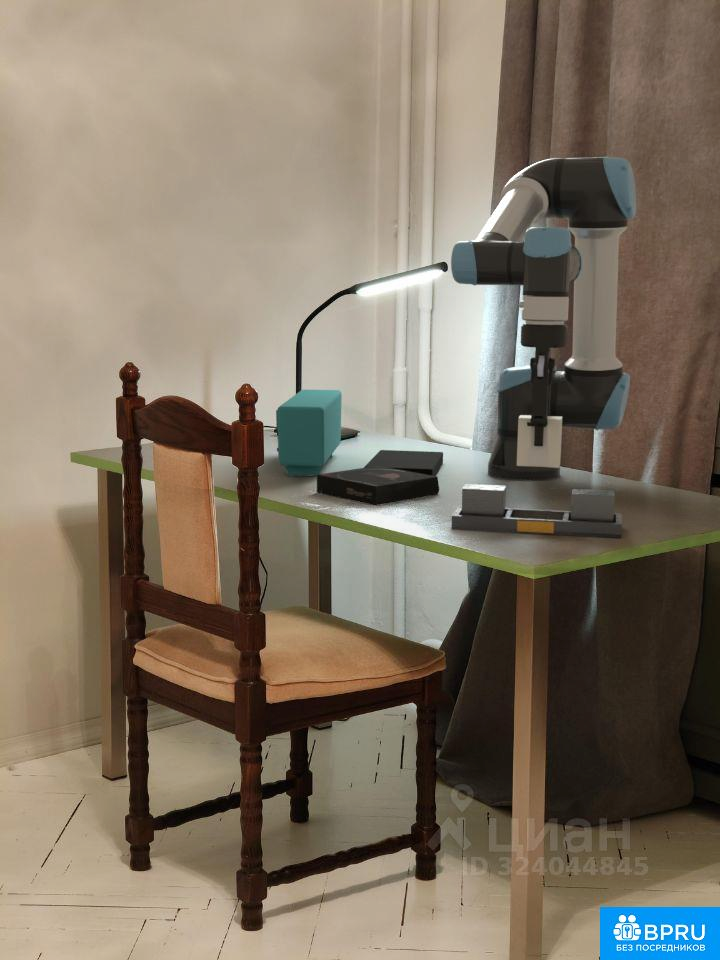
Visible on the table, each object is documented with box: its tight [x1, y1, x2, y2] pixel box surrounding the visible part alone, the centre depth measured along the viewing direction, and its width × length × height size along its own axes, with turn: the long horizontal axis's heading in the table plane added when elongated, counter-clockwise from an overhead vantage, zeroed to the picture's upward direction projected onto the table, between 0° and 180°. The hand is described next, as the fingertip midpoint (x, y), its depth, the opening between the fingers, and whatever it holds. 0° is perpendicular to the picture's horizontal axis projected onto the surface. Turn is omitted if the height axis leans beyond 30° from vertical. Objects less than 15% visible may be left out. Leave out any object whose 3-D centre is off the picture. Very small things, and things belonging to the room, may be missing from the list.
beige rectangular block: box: [517, 415, 563, 468], centre depth 205 cm, size 4×7×8 cm, turn 78°
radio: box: [275, 389, 343, 476], centre depth 267 cm, size 34×10×15 cm, turn 174°
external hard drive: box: [363, 449, 444, 476], centre depth 262 cm, size 14×23×3 cm, turn 171°
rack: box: [451, 483, 623, 539], centre depth 207 cm, size 9×28×7 cm, turn 78°
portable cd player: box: [316, 466, 440, 506], centre depth 237 cm, size 16×17×4 cm
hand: (538, 462), depth 205 cm, fingers closed on beige rectangular block, 4 cm apart
